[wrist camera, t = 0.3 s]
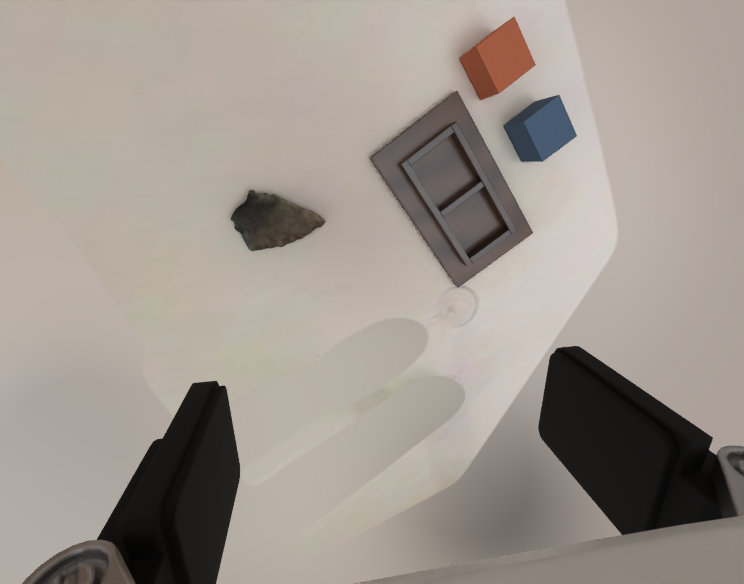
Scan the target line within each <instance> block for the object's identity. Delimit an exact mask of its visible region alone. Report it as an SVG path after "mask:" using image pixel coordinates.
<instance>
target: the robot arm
mask: <svg viewBox="0 0 744 584" xmlns="http://www.w3.org/2000/svg"><path fill="white" fill-rule="evenodd" d="M539 433H540V436H541V438H542V440H543V441H544V442H545V443H546V444H547V446H548V447H549V448H550V449H551V450H552V452H553V453H554V454H555V455H556V456H557V458H558V459H559V460H560V461H561V462H562V464H563V465H564V466H565V467H566V468H567V470H568V471H569V472H570V473H571V474H572V476H573V477H574V478H575V479H576V480H577V482H578V483H579V484H580V485H581V486H582V487H583V489H584V490H585V491H586V492H587V493H588V495H589V496H590V497H591V498H592V499H593V500H594V502H595V503H596V504H597V505H598V507H599V508H600V509H601V510H602V511H603V512H604V514H605V515H606V516H607V517H608V519H609V520H610V521H611V522H612V523H613V524H614V526H615V527H616V528H617V529H618V530H619V532H621V534H622V535H620V536H614V537H609V538H603V539H597V540H591V541H585V542H580V543H574V544H569V545H563V546H558V547H552V548H546V549H540V550H535V551H529V552H524V553H519V554H513V555H508V556H502V557H496V558H490V559H485V560H479V561H474V562H468V563H463V564H457V565H452V566H447V567H441V568H436V569H430V570H425V571H419V572H414V573H409V574H403V575H399V576H393V577H387V578H382V579H377V580H371V581H366V582H361V583H355V584H744V447H742V446H725V447H722V448H721V449H720V450H719V451H718V452H717V455H715V454H714V453H712V452H711V451H710V450H709V447H710V444H711V442H712V439H713V438H712V437H711V436H709V435H708V434H707V433H705V432H704V431H702V430H701V429H699V428H698V427H696V426H695V425H693V424H692V423H691V422H689V421H688V420H686V419H685V418H683V417H682V416H680V415H679V414H677V413H676V412H674V411H673V410H671V409H670V408H668V407H667V406H666V405H664V404H663V403H661V402H660V401H658V400H657V399H655V398H654V397H652V396H651V395H649V394H648V393H646V392H645V391H644V390H642V389H641V388H639V387H638V386H636V385H635V384H633V383H632V382H630V381H629V380H627V379H626V378H624V377H623V376H622V375H620V374H619V373H617V372H616V371H614V370H613V369H611V368H610V367H608V366H607V365H605V364H604V363H603V362H601V361H600V360H598V359H597V358H595V357H594V356H592V355H591V354H589V353H588V352H586V351H585V350H584V349H582V348H580V347H578V346H572V347H562V348H558V349H556V351H555V352H554V353H553V354H552V355H551V356H550V360H549V366H548V372H547V378H546V384H545V390H544V396H543V402H542V408H541V414H540V420H539ZM239 479H240V463H239V458H238V452H237V446H236V441H235V435H234V430H233V424H232V418H231V412H230V406H229V400H228V395H227V390H226V387H225V386H219V384H218V382H217V381H210V382H200V383H193V384H192V385H191V387H190V389H189V391H188V393H187V395H186V396H185V398H184V400H183V402H182V404H181V406H180V408H179V409H178V411H177V413H176V415H175V417H174V419H173V420H172V422H171V424H170V426H169V428H168V430H167V432H166V433H165V436H164V437H163V439H157V440H155V441H154V442H153V443H152V445H151V446H150V447H149V449H148V451H147V453H146V454H145V456H144V458H143V460H142V462H141V463H140V465H139V467H138V468H137V470H136V472H135V474H134V475H133V477H132V479H131V481H130V482H129V484H128V486H127V488H126V490H125V491H124V493H123V495H122V497H121V498H120V500H119V502H118V504H117V505H116V507H115V509H114V510H113V512H112V514H111V516H110V518H109V519H108V521H107V523H106V525H105V526H104V528H103V530H102V531H101V533H100V535H99V537H98V539H97V540H91V541H86V542H83V543H79V544H77V545H74V546H71V547H69V548H67V549H66V550H64V551H61V552H59V553H58V554H56V555H54V556H53V557H52V558H50V559H49V560H47V561H46V562H45V563H43V564H42V565H40V567H38V568H37V569H36V570H35V571H34V572H33V573H32V574H31V575H30V576H29V577H28V578H27V579H26V580H25V581H24V582H23V584H216V581H217V576H218V572H219V568H220V563H221V558H222V554H223V550H224V546H225V541H226V537H227V532H228V527H229V523H230V519H231V515H232V510H233V506H234V501H235V497H236V493H237V488H238V484H239Z"/></svg>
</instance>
